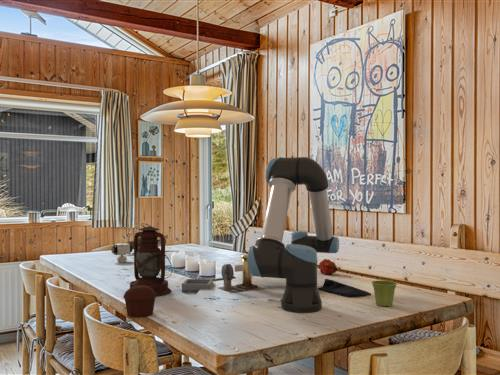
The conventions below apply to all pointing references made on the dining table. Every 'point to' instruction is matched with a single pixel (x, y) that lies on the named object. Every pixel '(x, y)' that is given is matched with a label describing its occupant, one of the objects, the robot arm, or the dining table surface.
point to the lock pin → (246, 272)
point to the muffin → (140, 301)
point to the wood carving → (140, 239)
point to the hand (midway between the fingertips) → (242, 270)
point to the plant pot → (384, 292)
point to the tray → (196, 284)
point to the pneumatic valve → (121, 251)
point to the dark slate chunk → (342, 289)
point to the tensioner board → (228, 276)
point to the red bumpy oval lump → (327, 267)
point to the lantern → (150, 261)
